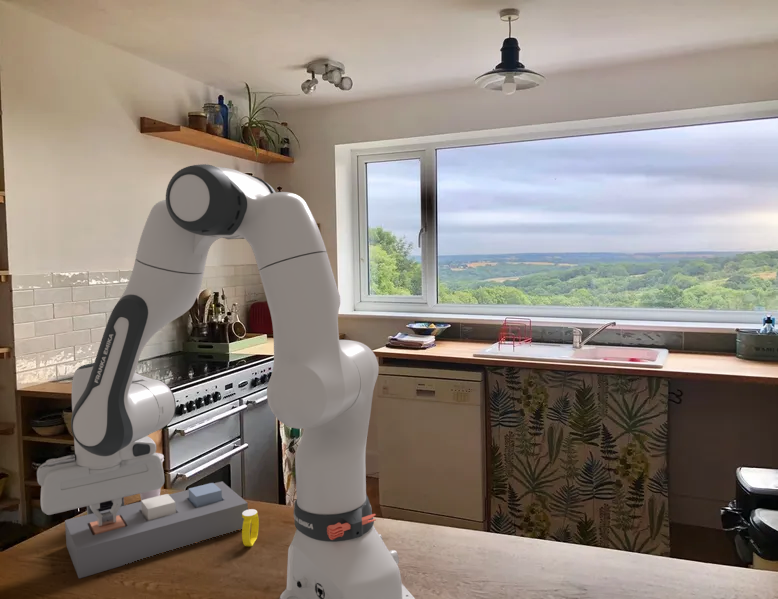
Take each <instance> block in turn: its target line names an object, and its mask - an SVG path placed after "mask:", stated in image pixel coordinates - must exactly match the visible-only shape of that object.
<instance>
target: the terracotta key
mask: <svg viewBox="0 0 778 599" xmlns="http://www.w3.org/2000/svg"><path fill="white" fill-rule="evenodd" d="M122 527H125V524H124V522H123V521H122V519H121V517H120V516H119V515H118V516H116V522H115V523H111V524H107V525H103V526H100V527H99V526H98V523H97V521H95V522H91V523H90V531H91V533H92V535H96V534H100V533H103V532H107V531H111V530H115V529H118V528H122Z"/></svg>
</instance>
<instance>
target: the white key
mask: <svg viewBox="0 0 778 599" xmlns="http://www.w3.org/2000/svg"><path fill="white" fill-rule="evenodd" d="M140 502H141V508H142V515H143V517H144V518H145V519H146V521H148V520H152V519H156V518H160V517H163V516H167V515H171V514H175V513H176V506H175V501H174V500H173V499H172V498H171V497H170V496H169V493H165V494H160V496H157V497H153V498H148V499H144V500H141V499H140Z"/></svg>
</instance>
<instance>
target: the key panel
mask: <svg viewBox="0 0 778 599" xmlns="http://www.w3.org/2000/svg"><path fill="white" fill-rule="evenodd" d="M213 483H214V482H213ZM214 484H215V485H216V486H217V487H219V488H220V489H221V490H222V501H220V502H216V503H212V504H208V505H205V506H201V507H197V508H195V507H194V506H193V505H192V504H191V503H190V502H189V491H188V489H187V490H186V489H185V490H182V491H179V492H174V493H170V494H169V493H168V494H169V496H170V497H171V498H172V499H173V500H174V501H175V506H176V513H175V514H171V515H167V516H163V517H160V518H156V519H152V520H148V521H146V519H145V518H144V517H143V515H142V508H141V501H137V502H133V503H129V504H124V506H121V507H120V508H119V510H118V512H117V513H116V516H118V515H119V516H120V517H121V519H122V521H123V522H124V524H125V527H122V528H118V529H115V530H111V531H107V532H103V533H100V534H96V535H92V533H91V531H90V523H91V522H95V521H97V516H96V515H95V514H94V513H92V514H88V515H87V514H85V515H81V516H77V517H73V518H68V519H66V520H64V525H65V540H66V542H65V543H66V548H67V549H66V550H67V551H68V554H69V556H70V560H71V562H72V564H73V567H74V570H75V572H76V575H77V578H78V579H83V578H86V577H89V576H92V575H95V574H99V573H102V572H104V571H108V570H112V569H116V568H118V567H122V566H126V565H128V563H129V564H133V563H135V562H134V561H136V562H138V561H137V560H139V561H141V560H140V559H142V560H144V559H143V558H146V557H149V558H151V557H150V556H152V557H154V556H153V555H156V554H159V553H162V552H166V551H169V550H172V551H174V550H173V549H176V548H179V547H182V548H184V547H183V546H186V545H189V546H191V545H190V544H192V545H194V544H193V543H195V542H199V541H201V540H205V539H209V538H212V537H216V536H219V535H222V536H224V535H223V534H226V533H229V534H231V533H230V532H232V533H234V532H233V531H235V532H237V531H236V530H238V529H242V527H243V521H244V518H243V517H242V513H243V512H244V511H245V510H249V505H248V504H249V503H248V501H246V500H245V499H244V498H243V497H241V495H239V494H238V493H237V492H235V491H234V490H233V489H232V488H231V487H230V486H228V485H227V484H226V483H225V482H224V481H217V482H215V483H214ZM110 510H111V509H109V510H105V511H101V512H100V513H105V512H109V511H110ZM226 535H227V534H226ZM219 537H220V536H219ZM216 538H217V537H216ZM212 539H213V538H212ZM209 540H210V539H209ZM199 543H200V542H199ZM186 547H187V546H186ZM179 549H180V548H179ZM176 550H177V549H176ZM169 552H170V551H169ZM166 553H167V552H166ZM162 554H163V553H162ZM159 555H160V554H159ZM156 556H157V555H156ZM146 559H147V558H146ZM132 562H133V563H132ZM125 564H126V565H125Z"/></svg>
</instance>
